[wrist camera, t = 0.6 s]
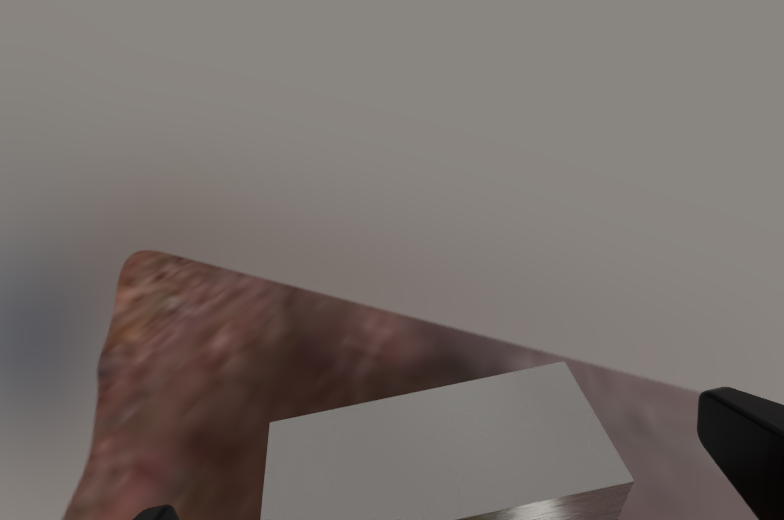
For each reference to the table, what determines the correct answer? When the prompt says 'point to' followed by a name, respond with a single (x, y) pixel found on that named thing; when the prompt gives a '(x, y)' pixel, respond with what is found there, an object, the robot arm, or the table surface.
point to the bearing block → (450, 456)
